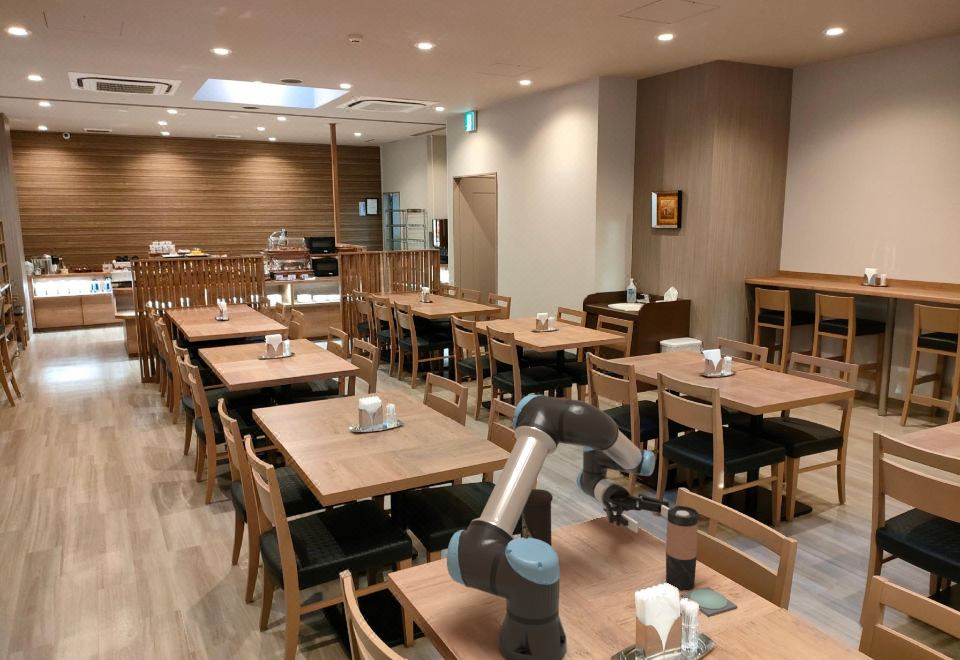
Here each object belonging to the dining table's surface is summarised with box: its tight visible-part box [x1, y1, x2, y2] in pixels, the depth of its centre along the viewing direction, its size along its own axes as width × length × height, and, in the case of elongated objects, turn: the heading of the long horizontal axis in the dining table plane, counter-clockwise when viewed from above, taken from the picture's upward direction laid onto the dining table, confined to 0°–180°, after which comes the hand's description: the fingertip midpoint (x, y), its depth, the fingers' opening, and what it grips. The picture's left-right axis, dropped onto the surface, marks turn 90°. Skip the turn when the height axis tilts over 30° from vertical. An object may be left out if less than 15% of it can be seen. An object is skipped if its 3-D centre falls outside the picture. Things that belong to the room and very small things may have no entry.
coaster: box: [680, 586, 738, 618], centre depth 169 cm, size 9×10×1 cm
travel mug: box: [665, 505, 699, 592], centre depth 176 cm, size 8×8×20 cm
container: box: [521, 488, 553, 548], centre depth 190 cm, size 9×9×20 cm
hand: (657, 523), depth 185 cm, fingers open, 13 cm apart
